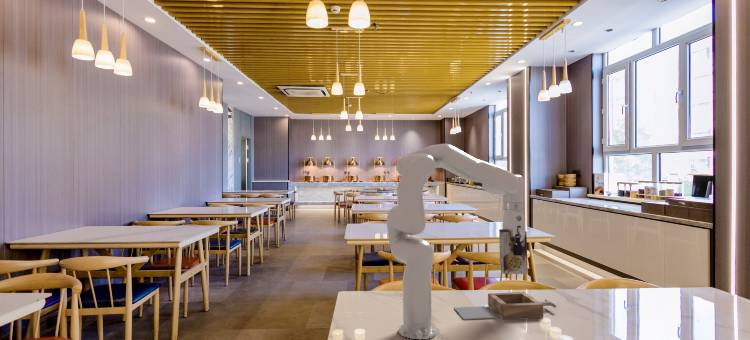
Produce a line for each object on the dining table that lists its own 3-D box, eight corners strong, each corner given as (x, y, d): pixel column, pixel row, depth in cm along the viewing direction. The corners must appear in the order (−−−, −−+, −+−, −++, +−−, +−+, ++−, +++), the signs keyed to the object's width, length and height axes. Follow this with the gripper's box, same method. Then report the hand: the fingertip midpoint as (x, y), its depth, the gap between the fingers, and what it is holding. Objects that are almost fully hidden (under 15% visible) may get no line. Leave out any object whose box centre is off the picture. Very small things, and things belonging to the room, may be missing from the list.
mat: (495, 318, 145) (495, 317, 145) (463, 320, 144) (463, 318, 144) (483, 307, 157) (483, 306, 157) (453, 308, 156) (453, 307, 156)
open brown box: (563, 316, 146) (562, 303, 146) (504, 319, 144) (503, 305, 144) (541, 303, 161) (541, 291, 161) (488, 305, 159) (487, 293, 159)
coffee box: (523, 270, 155) (522, 229, 155) (527, 274, 148) (527, 231, 149) (499, 270, 156) (498, 228, 156) (502, 274, 149) (502, 231, 150)
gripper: (533, 208, 144) (533, 257, 144) (512, 205, 161) (512, 249, 161) (513, 208, 143) (513, 258, 143) (494, 205, 161) (494, 249, 160)
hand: (512, 252), depth 152 cm, fingers closed on coffee box, 7 cm apart
